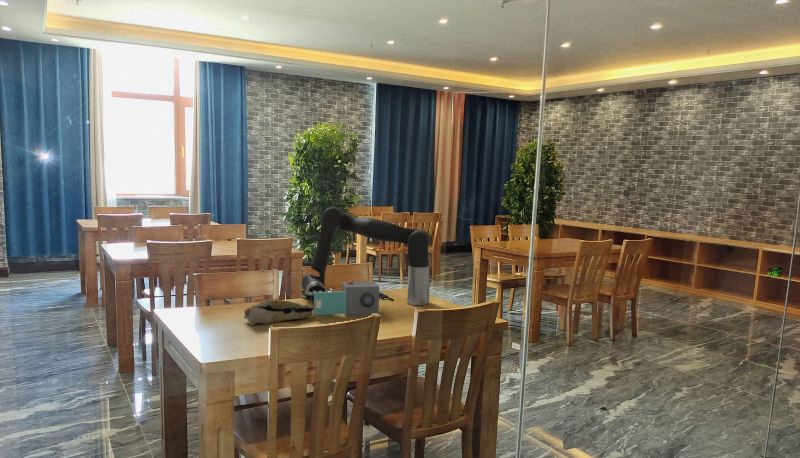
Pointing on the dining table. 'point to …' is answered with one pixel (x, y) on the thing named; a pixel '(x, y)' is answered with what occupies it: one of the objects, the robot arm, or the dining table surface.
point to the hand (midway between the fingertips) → (319, 300)
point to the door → (329, 302)
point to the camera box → (361, 298)
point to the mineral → (276, 311)
